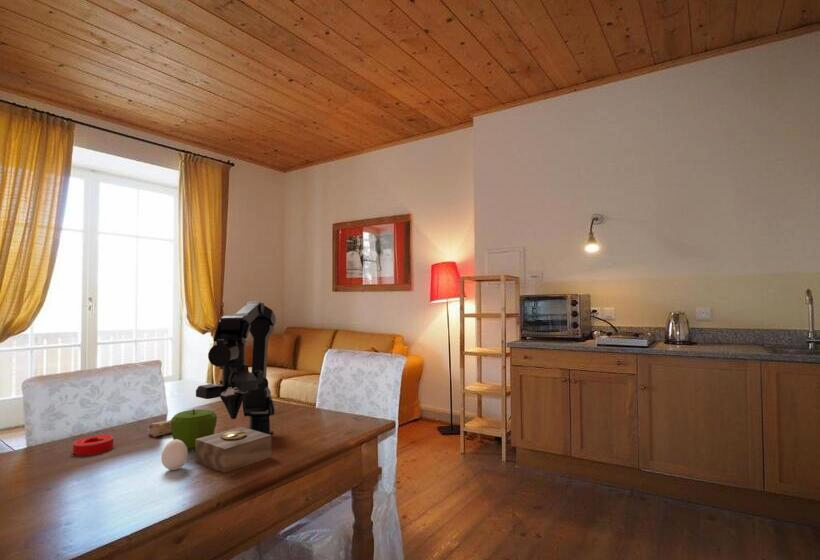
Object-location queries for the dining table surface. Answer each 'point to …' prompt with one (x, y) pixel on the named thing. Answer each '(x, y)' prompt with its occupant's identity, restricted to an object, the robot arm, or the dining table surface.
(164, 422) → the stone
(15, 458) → the dining table surface
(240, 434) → the peg
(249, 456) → the socket block
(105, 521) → the dining table surface
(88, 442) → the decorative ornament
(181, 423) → the apple
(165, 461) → the egg
